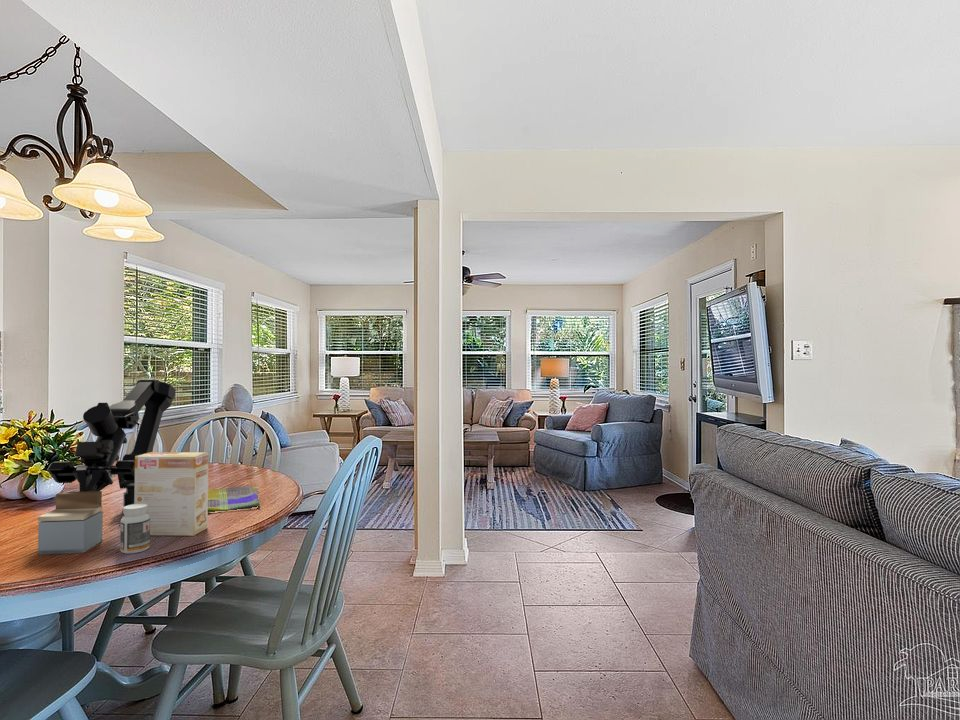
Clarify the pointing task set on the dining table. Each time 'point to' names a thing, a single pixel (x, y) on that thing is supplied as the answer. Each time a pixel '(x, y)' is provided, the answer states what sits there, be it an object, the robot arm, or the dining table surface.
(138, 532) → the pill bottle
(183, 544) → the dining table surface
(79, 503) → the birch lid
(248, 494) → the dish towel
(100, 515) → the slate box
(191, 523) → the coffeecake box
